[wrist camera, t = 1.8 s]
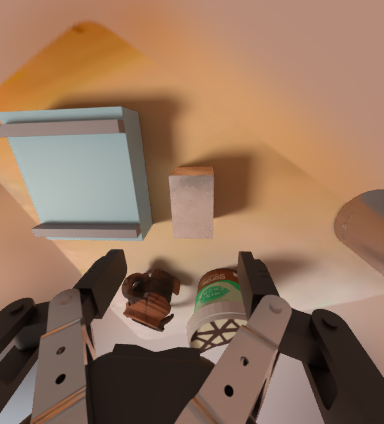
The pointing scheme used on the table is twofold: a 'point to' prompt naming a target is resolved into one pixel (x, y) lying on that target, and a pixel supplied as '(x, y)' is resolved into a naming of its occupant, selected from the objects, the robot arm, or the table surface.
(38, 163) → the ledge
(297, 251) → the table surface
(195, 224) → the block
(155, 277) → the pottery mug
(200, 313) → the food container
